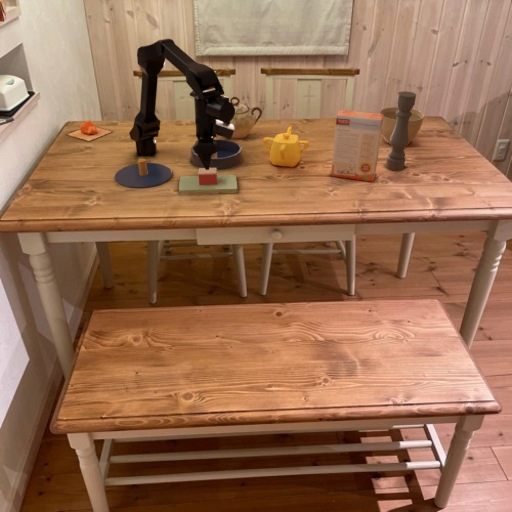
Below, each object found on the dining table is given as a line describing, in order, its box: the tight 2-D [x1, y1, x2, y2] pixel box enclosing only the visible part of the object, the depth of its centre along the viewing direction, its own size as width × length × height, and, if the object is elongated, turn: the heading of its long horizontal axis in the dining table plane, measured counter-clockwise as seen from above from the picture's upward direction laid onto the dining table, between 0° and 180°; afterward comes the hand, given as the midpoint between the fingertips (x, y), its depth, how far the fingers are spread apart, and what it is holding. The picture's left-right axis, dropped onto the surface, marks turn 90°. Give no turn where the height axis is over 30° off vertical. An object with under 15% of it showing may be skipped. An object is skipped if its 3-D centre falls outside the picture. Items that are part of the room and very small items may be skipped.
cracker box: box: [330, 109, 384, 183], centre depth 166 cm, size 14×6×21 cm, turn 71°
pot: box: [190, 138, 243, 171], centre depth 180 cm, size 17×17×4 cm
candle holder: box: [385, 91, 417, 172], centre depth 171 cm, size 6×6×25 cm
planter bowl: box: [379, 106, 425, 145], centre depth 194 cm, size 16×16×11 cm
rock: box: [66, 120, 112, 142], centre depth 200 cm, size 12×12×4 cm
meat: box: [198, 167, 218, 185], centre depth 162 cm, size 6×4×4 cm
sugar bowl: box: [229, 96, 263, 139], centre depth 197 cm, size 20×15×15 cm
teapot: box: [262, 125, 310, 168], centre depth 178 cm, size 14×13×10 cm
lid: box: [114, 158, 173, 189], centre depth 168 cm, size 18×18×6 cm
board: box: [178, 174, 238, 194], centre depth 164 cm, size 18×10×2 cm, turn 94°
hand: (207, 163), depth 160 cm, fingers open, 9 cm apart
